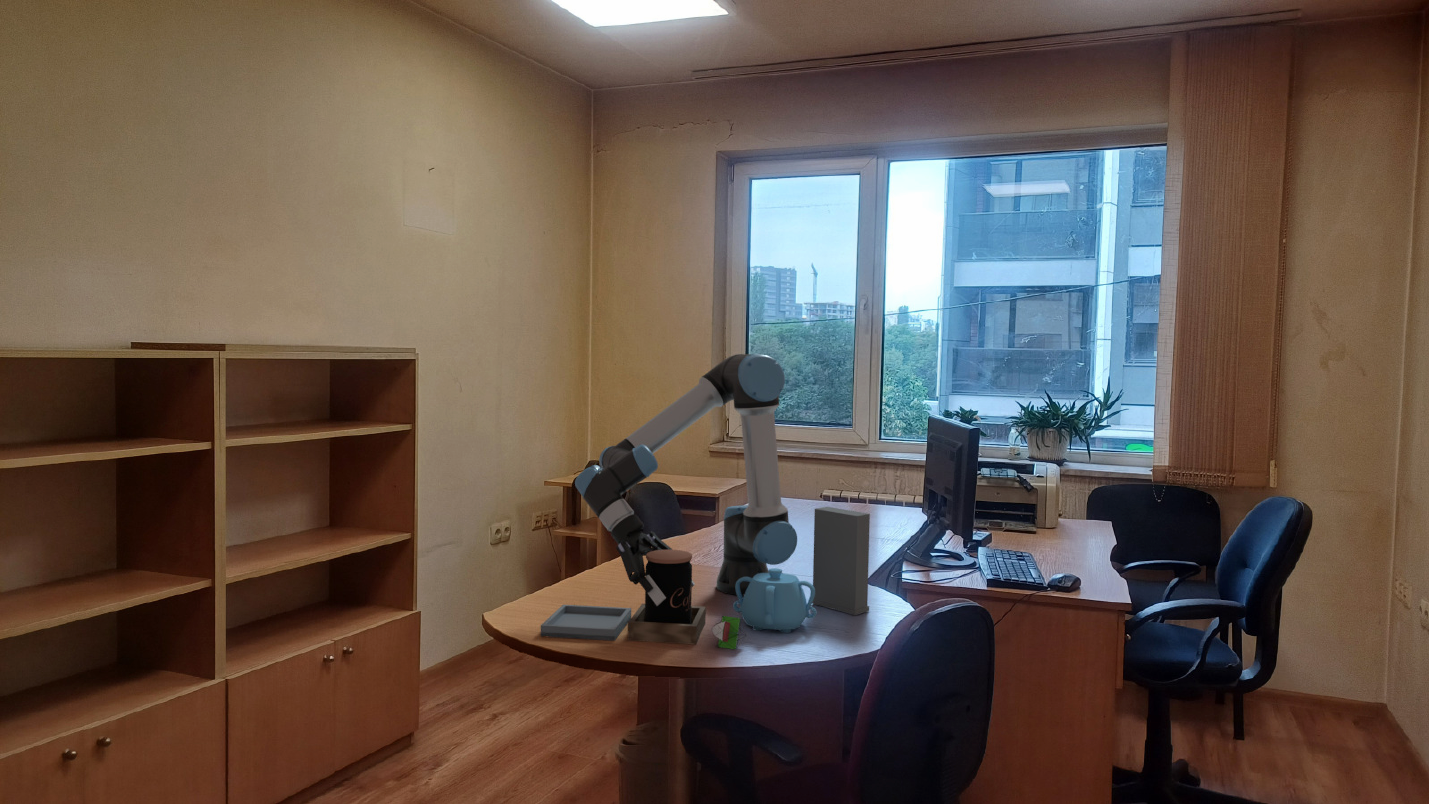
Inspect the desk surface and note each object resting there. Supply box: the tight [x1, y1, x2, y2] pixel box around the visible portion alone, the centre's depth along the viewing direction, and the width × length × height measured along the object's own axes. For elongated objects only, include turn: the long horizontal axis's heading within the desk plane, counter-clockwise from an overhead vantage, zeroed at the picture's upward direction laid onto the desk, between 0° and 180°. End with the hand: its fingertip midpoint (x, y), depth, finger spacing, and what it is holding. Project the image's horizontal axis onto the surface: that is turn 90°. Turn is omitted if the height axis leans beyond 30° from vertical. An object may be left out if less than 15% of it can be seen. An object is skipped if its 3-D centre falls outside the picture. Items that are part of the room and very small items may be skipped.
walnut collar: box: [627, 603, 707, 645], centre depth 199 cm, size 15×15×4 cm
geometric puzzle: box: [710, 615, 748, 651], centre depth 189 cm, size 7×7×8 cm
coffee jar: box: [644, 549, 693, 624], centre depth 199 cm, size 11×11×18 cm
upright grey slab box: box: [811, 506, 871, 616], centre depth 220 cm, size 14×6×25 cm, turn 44°
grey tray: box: [540, 604, 632, 642], centre depth 201 cm, size 17×17×2 cm
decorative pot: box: [732, 567, 818, 634], centre depth 205 cm, size 16×16×14 cm
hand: (676, 594), depth 198 cm, fingers open, 13 cm apart
